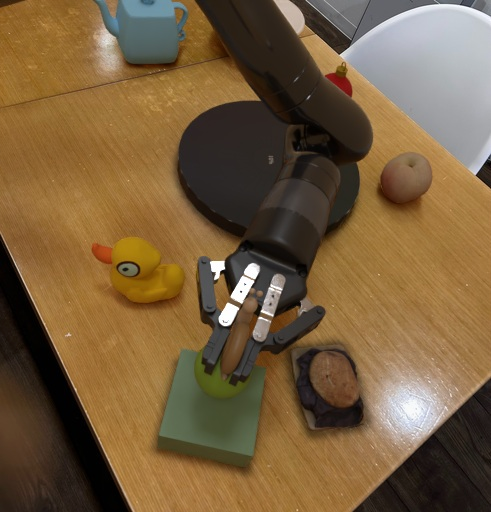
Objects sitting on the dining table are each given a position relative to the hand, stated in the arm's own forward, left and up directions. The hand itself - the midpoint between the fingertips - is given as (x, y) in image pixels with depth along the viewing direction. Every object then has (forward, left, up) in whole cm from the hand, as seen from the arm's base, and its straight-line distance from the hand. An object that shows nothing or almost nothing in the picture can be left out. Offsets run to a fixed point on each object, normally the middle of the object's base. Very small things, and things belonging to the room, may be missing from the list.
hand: (221, 375), depth 41 cm
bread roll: (+14, +9, -18) cm, 25 cm away
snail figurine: (0, +3, -7) cm, 8 cm away
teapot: (-27, +69, -18) cm, 76 cm away
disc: (+2, +44, -18) cm, 48 cm away
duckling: (-12, +17, -18) cm, 28 cm away
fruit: (+24, +47, -18) cm, 56 cm away
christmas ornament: (+11, +66, -18) cm, 69 cm away
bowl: (-7, +79, -18) cm, 81 cm away
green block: (+1, +3, -18) cm, 19 cm away
